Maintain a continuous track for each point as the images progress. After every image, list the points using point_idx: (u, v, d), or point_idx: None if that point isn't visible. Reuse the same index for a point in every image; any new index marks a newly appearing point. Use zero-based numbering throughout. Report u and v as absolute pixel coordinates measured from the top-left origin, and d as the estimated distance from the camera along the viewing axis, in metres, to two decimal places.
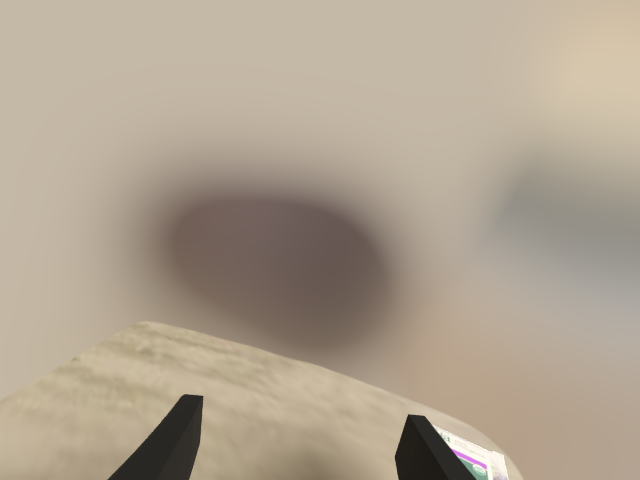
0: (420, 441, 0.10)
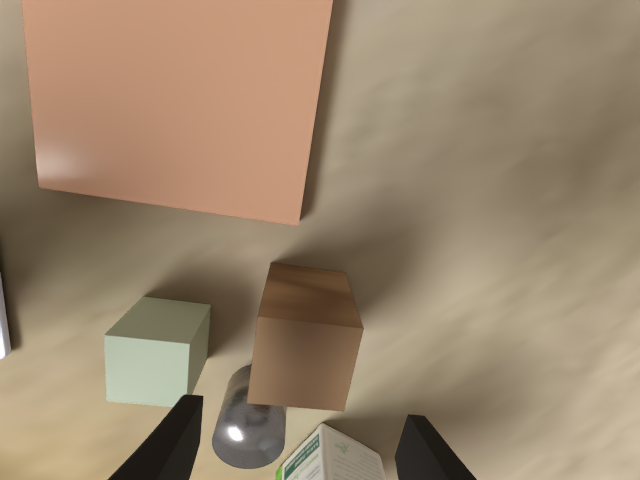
0: (420, 441, 0.10)
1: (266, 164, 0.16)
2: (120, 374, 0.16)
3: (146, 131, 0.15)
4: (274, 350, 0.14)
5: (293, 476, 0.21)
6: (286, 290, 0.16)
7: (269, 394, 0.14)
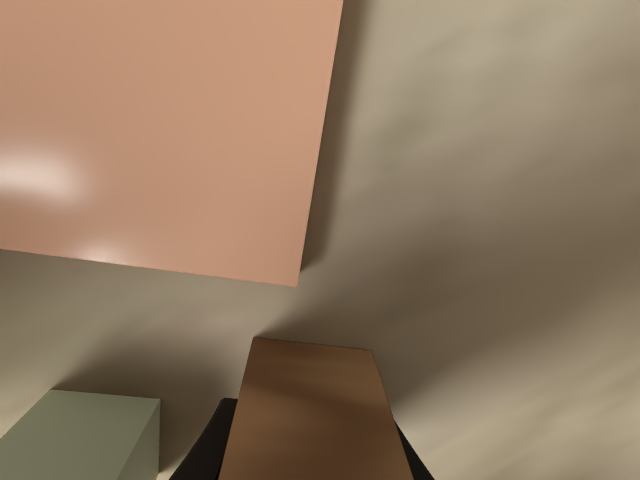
0: None
1: (240, 184, 0.09)
2: None
3: (14, 125, 0.08)
4: None
5: None
6: (275, 415, 0.09)
7: None
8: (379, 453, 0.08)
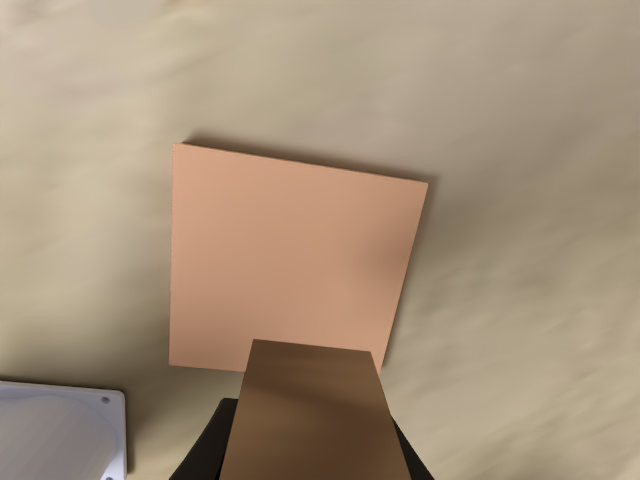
0: None
1: (354, 342, 0.19)
2: None
3: (259, 323, 0.19)
4: None
5: None
6: (274, 417, 0.09)
7: None
8: (378, 454, 0.08)
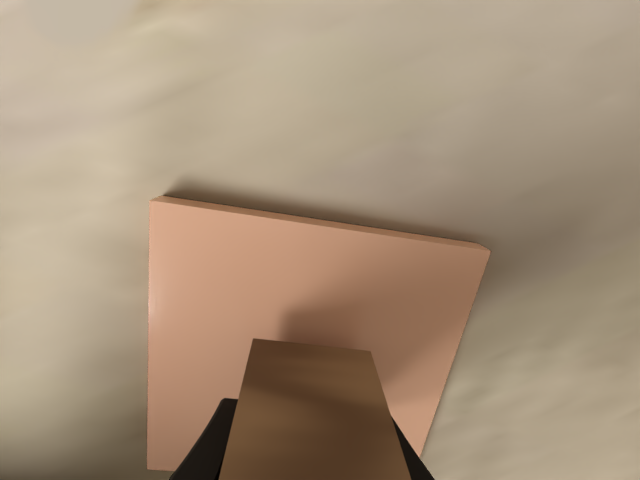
0: None
1: None
2: None
3: None
4: None
5: None
6: (274, 416, 0.09)
7: None
8: (377, 454, 0.08)
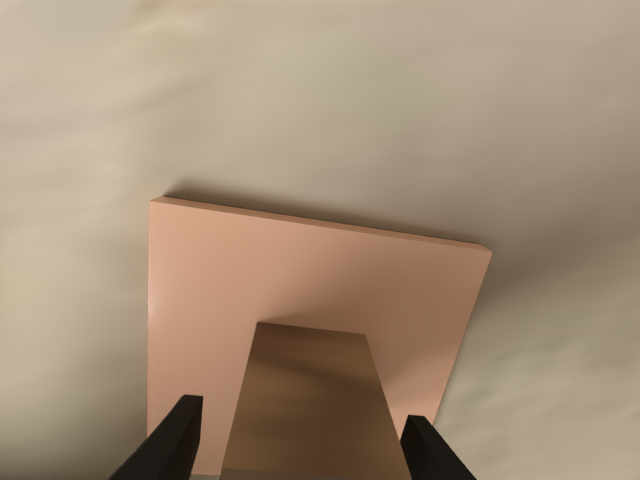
0: (420, 441, 0.10)
1: None
2: None
3: None
4: None
5: None
6: (277, 385, 0.10)
7: None
8: (369, 417, 0.09)
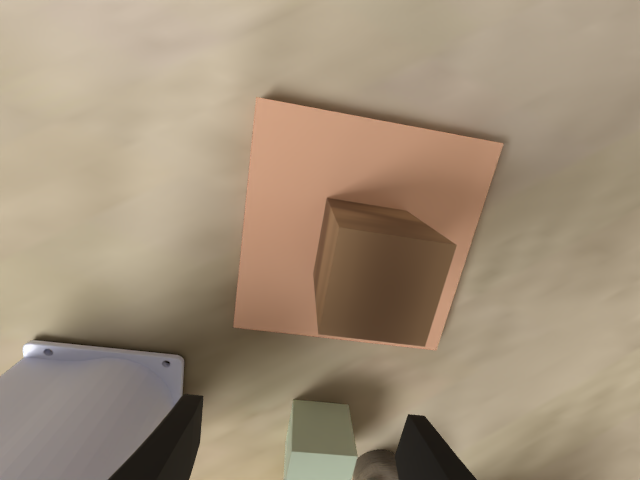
0: (420, 441, 0.10)
1: None
2: (298, 479, 0.19)
3: None
4: (354, 269, 0.12)
5: None
6: (356, 215, 0.14)
7: (344, 324, 0.13)
8: (422, 229, 0.13)
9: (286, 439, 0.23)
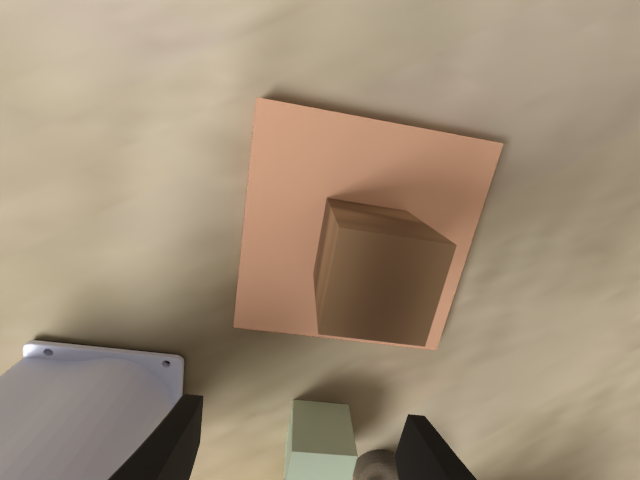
0: (420, 441, 0.10)
1: None
2: (298, 479, 0.19)
3: None
4: (354, 269, 0.12)
5: None
6: (356, 215, 0.14)
7: (344, 324, 0.13)
8: (422, 229, 0.13)
9: (286, 439, 0.23)
